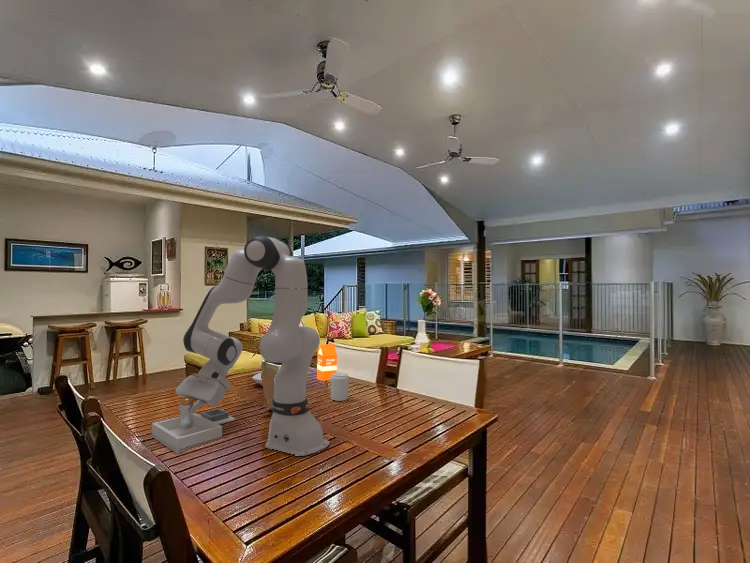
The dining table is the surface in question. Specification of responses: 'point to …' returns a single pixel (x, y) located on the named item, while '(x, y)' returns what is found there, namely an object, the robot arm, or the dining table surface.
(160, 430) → the tray
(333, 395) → the beverage can
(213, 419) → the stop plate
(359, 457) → the dining table surface
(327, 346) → the orange juice
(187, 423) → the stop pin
